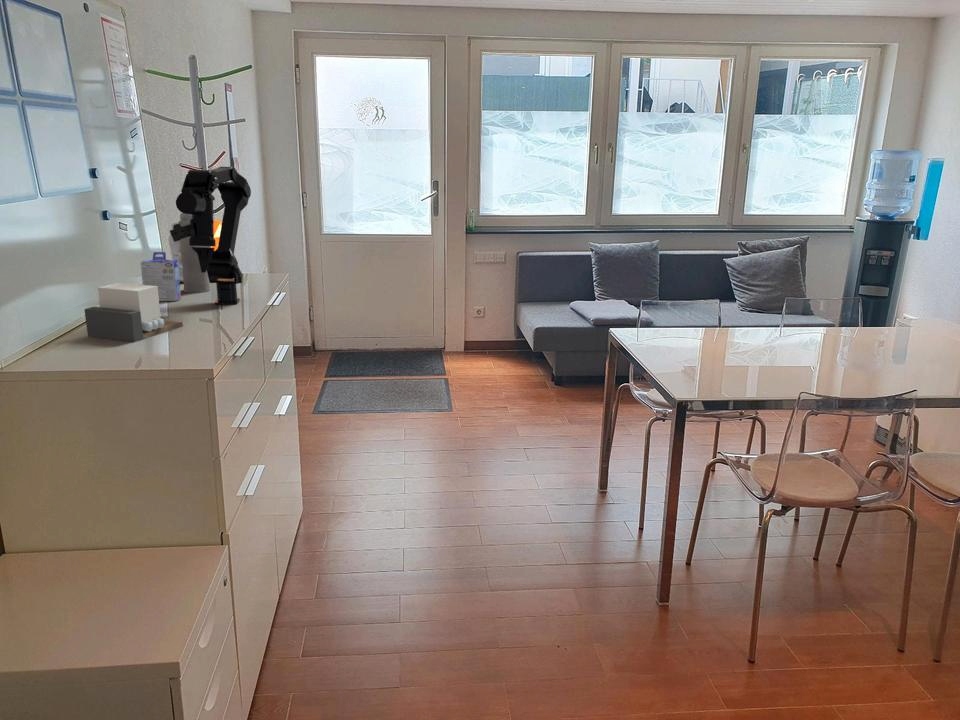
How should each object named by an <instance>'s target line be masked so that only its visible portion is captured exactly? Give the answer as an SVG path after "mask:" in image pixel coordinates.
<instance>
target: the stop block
mask: <svg viewBox="0 0 960 720" xmlns="http://www.w3.org/2000/svg"><path fill="white" fill-rule="evenodd" d="M83 309H84V318H85V325H86V332H87V333H86V334H87V337H88V338H96V339H97V338H98V339H105V340H106V339H107V340H115V341H123V342H124V341H125V342H132V343H136V342H139V341H141V340H144V339H143V331H142V322H141V312H140V311H132V310H122V309H112V308H102V307H100V306H99V307H98V306H92V307H91V306H90V307H88V308H83Z"/></svg>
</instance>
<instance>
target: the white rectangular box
mask: <svg viewBox="0 0 960 720" xmlns="http://www.w3.org/2000/svg"><path fill="white" fill-rule="evenodd" d="M97 292H98V300H99V307H102V308H112V309H122V310H132V311H140V312H141V322H142V331H152V330H153V329H154V330H156V329H157V328H162V327H163V326H164V320H165V319H163V318H161V308H160V307H161V306H160V301H159V296H158V286H150V285H143V284H136V283H127V282H126V283H124V282H115V283H110V284H108V285H103V286H102V285H101V286H98V287H97Z"/></svg>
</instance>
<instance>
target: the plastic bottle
mask: <svg viewBox="0 0 960 720" xmlns="http://www.w3.org/2000/svg"><path fill="white" fill-rule="evenodd" d="M176 224H178V222H174V223H171V230H173V226H174V225H176ZM168 245H169V248H170V249H169V250H170V254H171V259H177V261H178V271H179V282H180V284H184V282H183V270H182V259H181V248H180V240H179V241H176V242H174V241H173V238H172V236H171V233H169V236H168Z"/></svg>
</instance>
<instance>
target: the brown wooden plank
mask: <svg viewBox="0 0 960 720" xmlns="http://www.w3.org/2000/svg"><path fill="white" fill-rule="evenodd" d="M163 320H164V326H163V327H162V328H157V329H156V330H154V329H153V330H152V331H143V339H142V340H144V339H148V338H150V337H153V336H157V335H161V334H163V333H165V332H169V331H172V330H175V329H178V328H181V327H183V326H184V323H183V321H180V320H173V319H172V320H171V319H163Z"/></svg>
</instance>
